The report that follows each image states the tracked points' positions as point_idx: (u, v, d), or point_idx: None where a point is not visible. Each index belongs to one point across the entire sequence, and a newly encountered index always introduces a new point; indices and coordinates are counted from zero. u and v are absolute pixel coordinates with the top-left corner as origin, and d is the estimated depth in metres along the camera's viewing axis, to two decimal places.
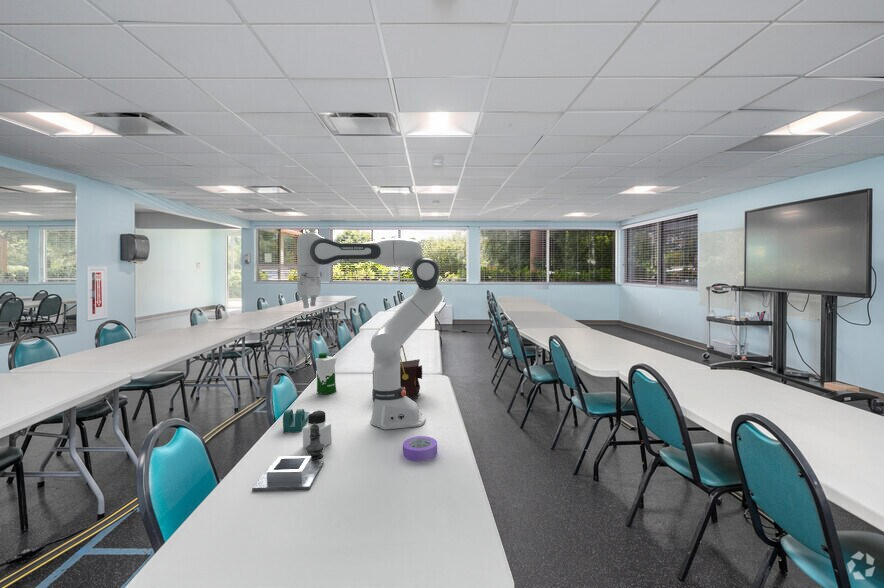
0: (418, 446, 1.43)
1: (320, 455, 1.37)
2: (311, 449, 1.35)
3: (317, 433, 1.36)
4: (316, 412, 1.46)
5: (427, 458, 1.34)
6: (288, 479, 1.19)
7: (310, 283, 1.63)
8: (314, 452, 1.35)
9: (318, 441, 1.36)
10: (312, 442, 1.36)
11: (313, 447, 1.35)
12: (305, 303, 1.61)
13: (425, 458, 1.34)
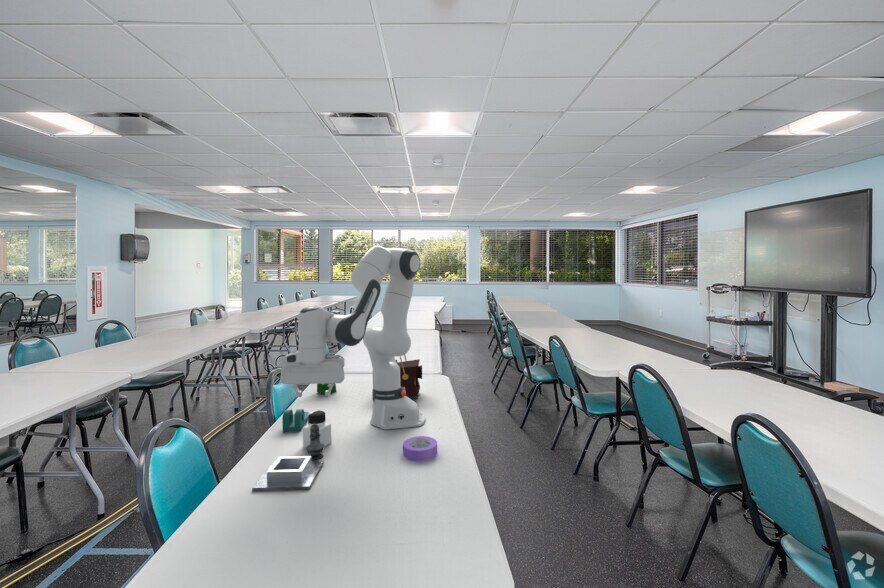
0: (418, 446, 1.43)
1: (320, 455, 1.37)
2: (311, 449, 1.35)
3: (317, 433, 1.36)
4: (316, 412, 1.46)
5: (427, 458, 1.34)
6: (288, 479, 1.19)
7: None
8: (314, 452, 1.35)
9: (318, 441, 1.36)
10: (312, 442, 1.36)
11: (313, 447, 1.35)
12: (330, 390, 1.36)
13: (425, 458, 1.34)
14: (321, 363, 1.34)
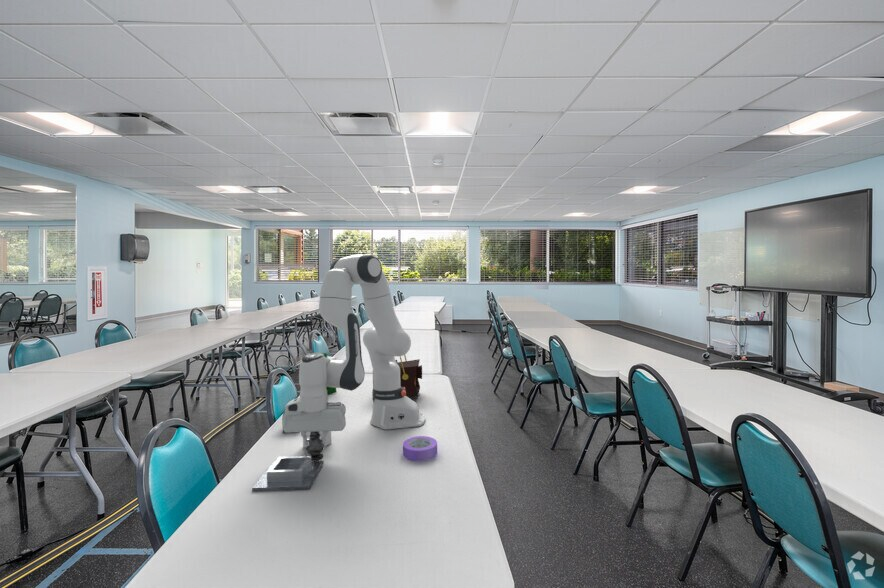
0: (418, 446, 1.43)
1: (320, 455, 1.37)
2: (311, 449, 1.35)
3: (317, 433, 1.36)
4: None
5: (427, 458, 1.34)
6: (288, 479, 1.19)
7: None
8: (314, 452, 1.35)
9: (318, 441, 1.36)
10: (312, 442, 1.36)
11: (313, 447, 1.35)
12: None
13: (425, 458, 1.34)
14: (322, 411, 1.35)
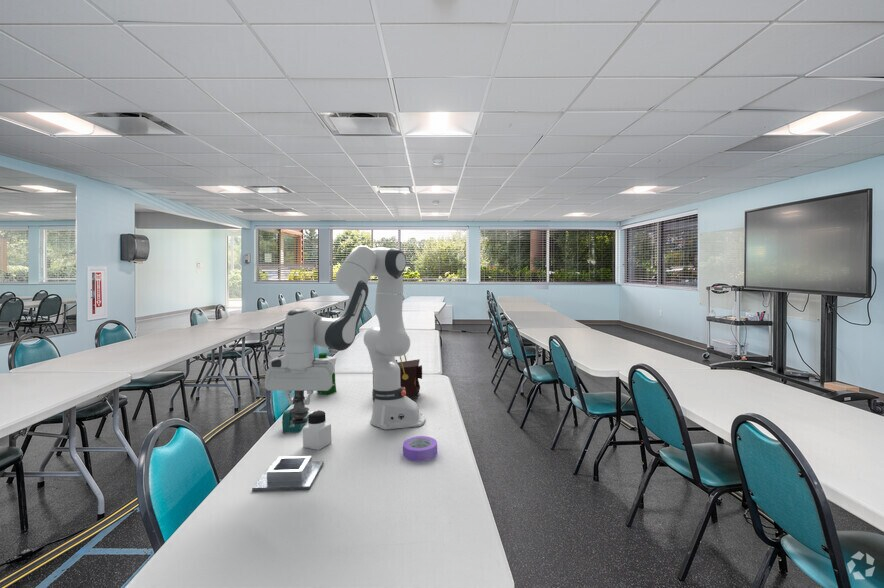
0: (418, 446, 1.43)
1: (304, 419, 1.29)
2: (294, 411, 1.26)
3: (301, 395, 1.28)
4: (316, 412, 1.46)
5: (427, 458, 1.34)
6: (288, 479, 1.19)
7: None
8: (297, 415, 1.26)
9: (302, 404, 1.28)
10: (296, 404, 1.27)
11: (297, 410, 1.27)
12: (309, 398, 1.29)
13: (425, 458, 1.34)
14: (308, 369, 1.27)
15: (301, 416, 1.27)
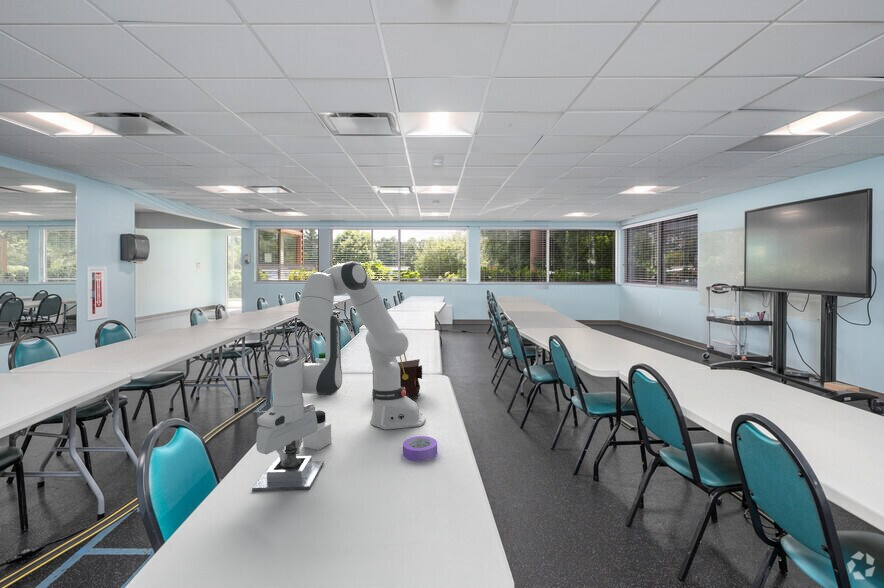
0: (418, 446, 1.43)
1: None
2: (295, 464, 1.22)
3: (295, 445, 1.24)
4: (316, 412, 1.46)
5: (427, 458, 1.34)
6: (288, 479, 1.19)
7: None
8: (298, 466, 1.23)
9: None
10: (292, 457, 1.22)
11: (295, 461, 1.23)
12: None
13: (425, 458, 1.34)
14: (301, 417, 1.25)
15: (299, 466, 1.24)
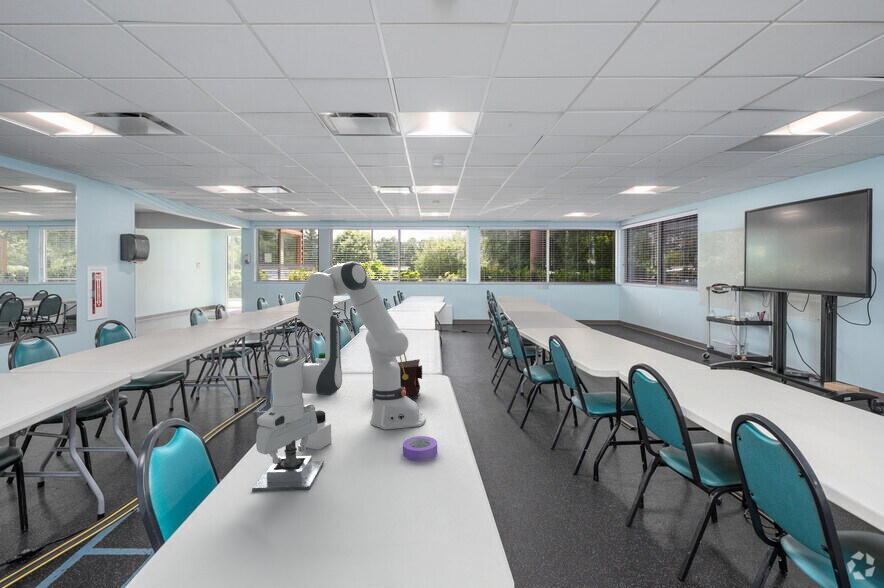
0: (418, 446, 1.43)
1: None
2: (295, 464, 1.22)
3: (295, 445, 1.24)
4: (316, 412, 1.46)
5: (427, 458, 1.34)
6: (288, 479, 1.19)
7: None
8: (297, 466, 1.23)
9: None
10: (292, 457, 1.22)
11: (295, 461, 1.23)
12: None
13: (425, 458, 1.34)
14: None
15: (299, 466, 1.24)
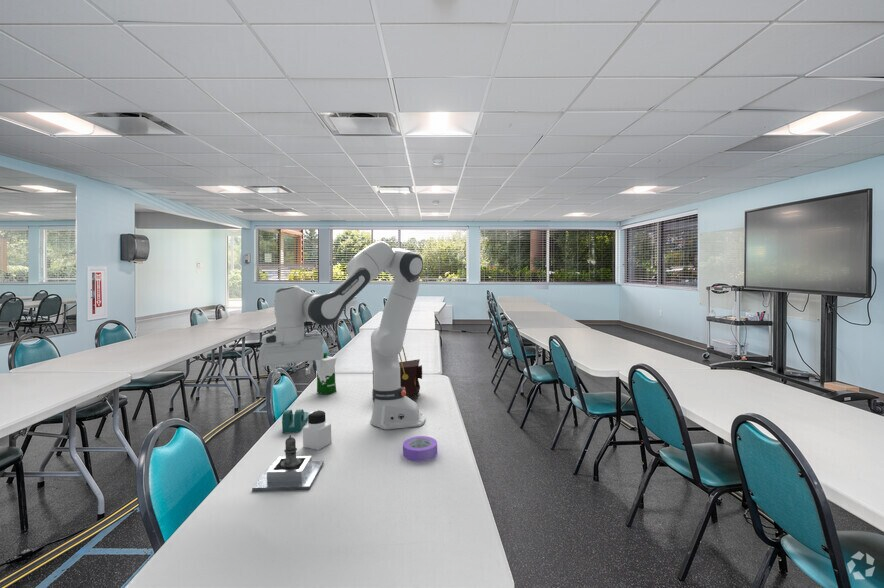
0: (418, 446, 1.43)
1: None
2: (295, 464, 1.22)
3: (295, 445, 1.24)
4: (316, 412, 1.46)
5: (427, 458, 1.34)
6: (288, 479, 1.19)
7: None
8: (297, 466, 1.23)
9: None
10: (292, 457, 1.22)
11: (295, 461, 1.23)
12: (310, 368, 1.39)
13: (425, 458, 1.34)
14: (301, 341, 1.36)
15: (299, 466, 1.24)
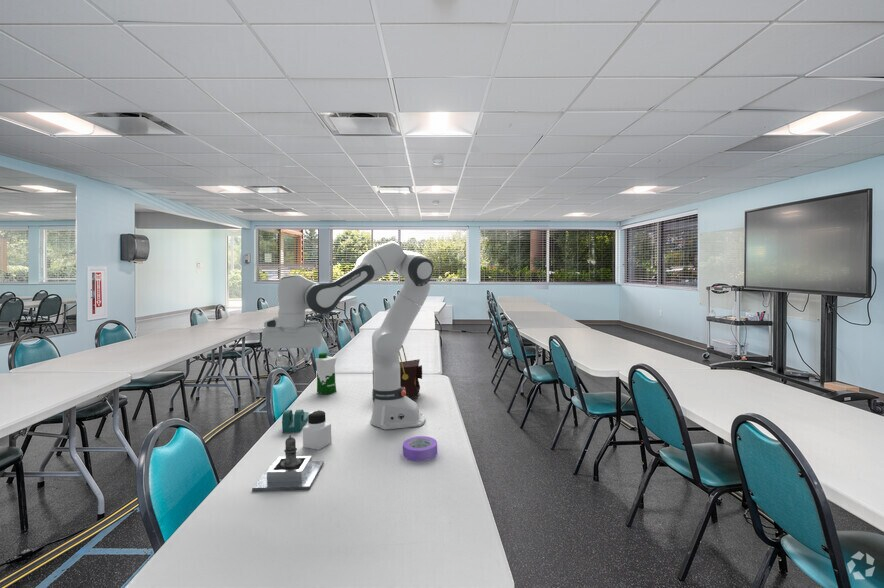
0: (418, 446, 1.43)
1: None
2: (295, 464, 1.22)
3: (295, 445, 1.24)
4: (316, 412, 1.46)
5: (427, 458, 1.34)
6: (288, 479, 1.19)
7: None
8: (297, 466, 1.23)
9: None
10: (292, 457, 1.22)
11: (295, 461, 1.23)
12: (309, 354, 1.44)
13: (425, 458, 1.34)
14: (300, 328, 1.41)
15: (299, 466, 1.24)
